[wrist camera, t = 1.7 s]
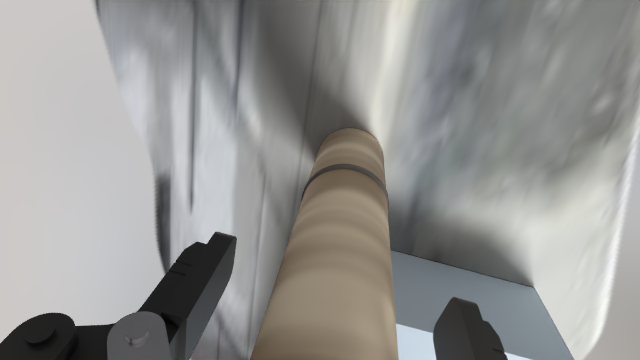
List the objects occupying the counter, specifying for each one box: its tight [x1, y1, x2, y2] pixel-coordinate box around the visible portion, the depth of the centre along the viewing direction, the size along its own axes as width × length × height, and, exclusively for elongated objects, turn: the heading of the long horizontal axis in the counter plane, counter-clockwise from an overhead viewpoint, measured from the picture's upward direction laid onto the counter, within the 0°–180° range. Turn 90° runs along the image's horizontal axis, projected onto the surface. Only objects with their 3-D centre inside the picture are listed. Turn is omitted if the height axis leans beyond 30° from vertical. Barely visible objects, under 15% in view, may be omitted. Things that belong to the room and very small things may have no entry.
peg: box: [250, 128, 399, 360], centre depth 14 cm, size 4×4×14 cm
